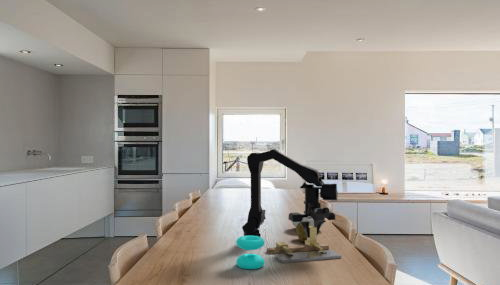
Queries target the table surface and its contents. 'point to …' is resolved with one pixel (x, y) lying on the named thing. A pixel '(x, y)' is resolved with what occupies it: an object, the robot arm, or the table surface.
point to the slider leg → (313, 239)
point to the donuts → (250, 259)
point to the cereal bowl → (309, 223)
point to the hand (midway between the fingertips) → (311, 237)
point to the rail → (292, 248)
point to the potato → (301, 232)
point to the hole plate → (307, 256)
